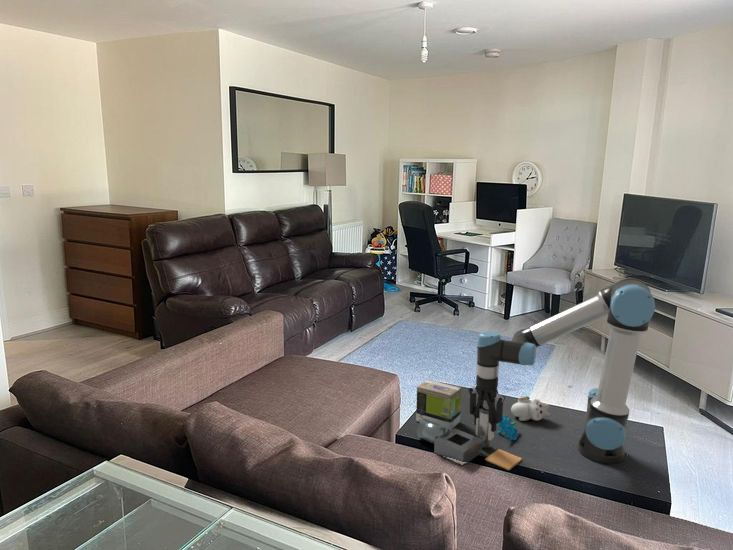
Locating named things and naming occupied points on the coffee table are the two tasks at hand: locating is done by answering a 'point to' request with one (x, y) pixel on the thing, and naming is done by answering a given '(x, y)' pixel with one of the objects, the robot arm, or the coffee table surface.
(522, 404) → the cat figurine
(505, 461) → the pad
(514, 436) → the gear
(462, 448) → the grey piece
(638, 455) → the coffee table surface
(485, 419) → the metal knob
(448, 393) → the tea box
